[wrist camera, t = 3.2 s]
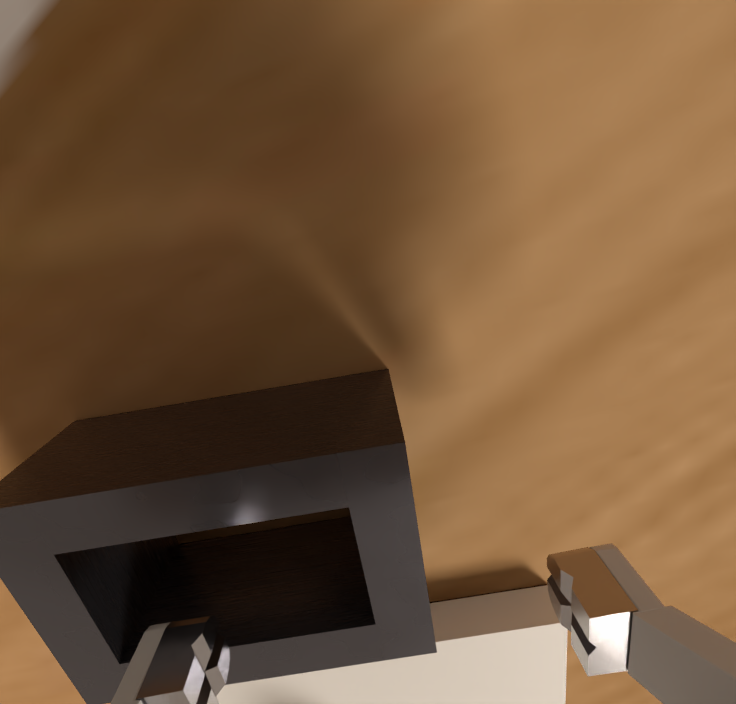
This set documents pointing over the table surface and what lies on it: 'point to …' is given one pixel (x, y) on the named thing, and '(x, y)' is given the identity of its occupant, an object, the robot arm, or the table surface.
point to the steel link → (227, 554)
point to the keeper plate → (446, 661)
